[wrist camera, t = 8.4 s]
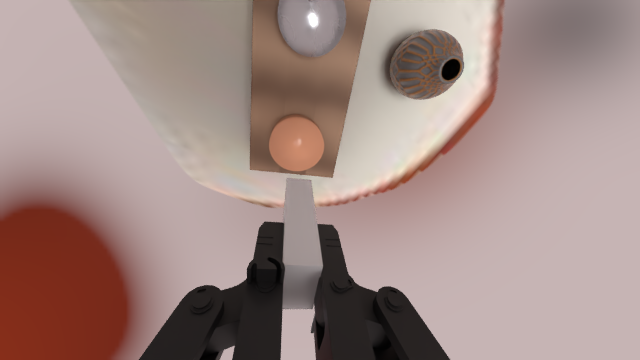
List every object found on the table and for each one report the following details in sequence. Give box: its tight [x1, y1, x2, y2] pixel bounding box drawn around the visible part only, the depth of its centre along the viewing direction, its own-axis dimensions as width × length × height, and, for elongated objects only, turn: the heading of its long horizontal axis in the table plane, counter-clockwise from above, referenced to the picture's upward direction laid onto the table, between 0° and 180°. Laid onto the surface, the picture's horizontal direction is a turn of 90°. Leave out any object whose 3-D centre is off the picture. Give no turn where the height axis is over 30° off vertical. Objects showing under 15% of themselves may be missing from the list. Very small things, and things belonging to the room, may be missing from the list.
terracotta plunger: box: [269, 114, 324, 171], centre depth 26 cm, size 6×6×6 cm
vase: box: [390, 29, 464, 100], centre depth 25 cm, size 7×7×9 cm
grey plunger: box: [278, 0, 346, 57], centre depth 21 cm, size 6×6×6 cm
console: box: [250, 0, 371, 178], centre depth 26 cm, size 20×10×6 cm, turn 171°
